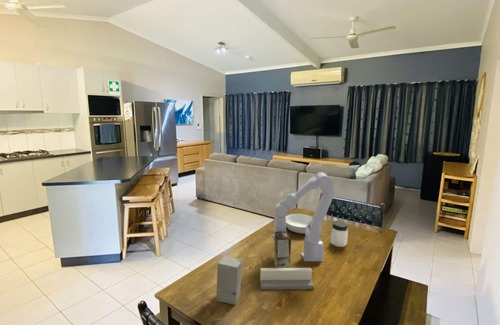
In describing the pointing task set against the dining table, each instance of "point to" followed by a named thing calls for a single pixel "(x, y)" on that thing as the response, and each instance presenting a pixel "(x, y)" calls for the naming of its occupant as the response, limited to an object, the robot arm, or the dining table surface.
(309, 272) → the board
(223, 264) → the skincare box
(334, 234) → the jar
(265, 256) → the dining table surface
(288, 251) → the coffee box
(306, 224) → the serving bowl
